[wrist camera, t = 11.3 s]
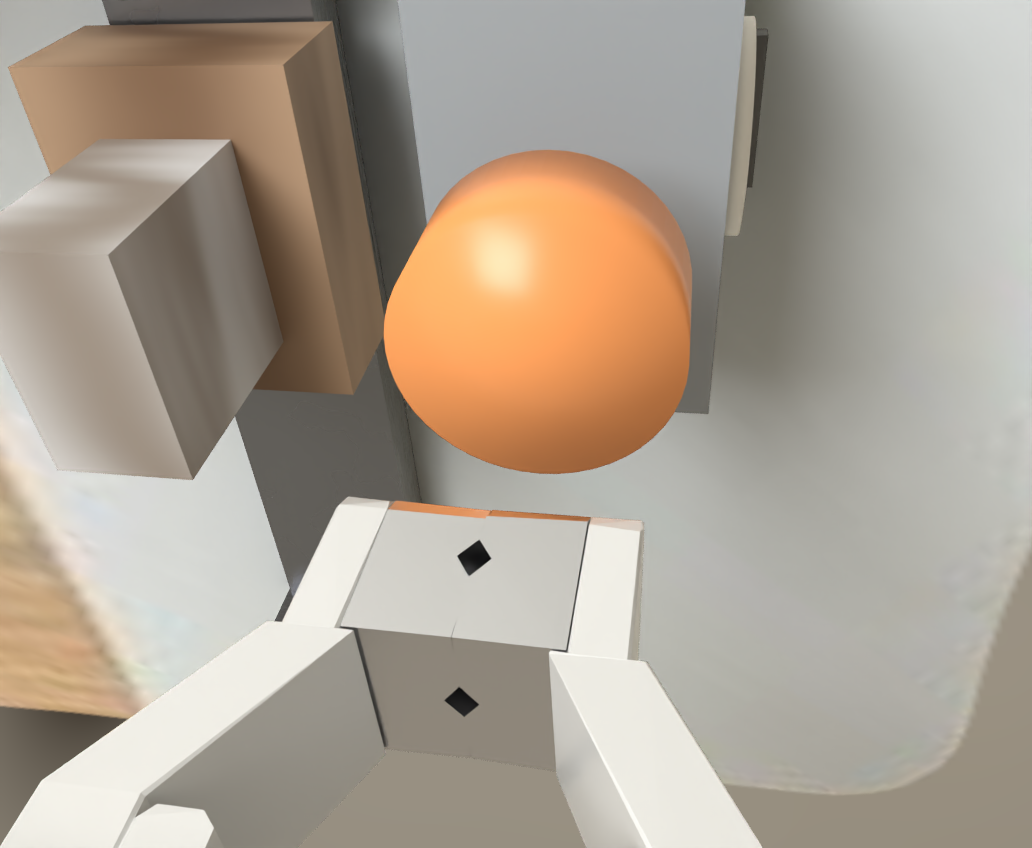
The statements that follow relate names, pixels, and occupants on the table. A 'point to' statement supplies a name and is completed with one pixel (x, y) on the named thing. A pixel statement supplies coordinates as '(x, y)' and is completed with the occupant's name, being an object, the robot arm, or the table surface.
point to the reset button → (544, 314)
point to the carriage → (183, 239)
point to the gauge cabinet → (600, 109)
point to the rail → (305, 415)
